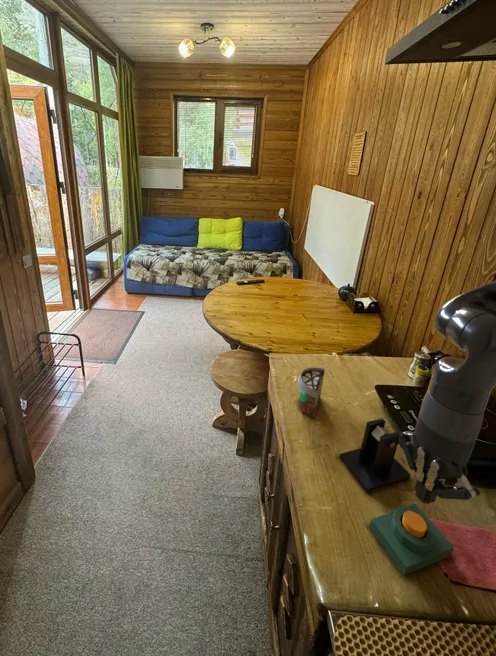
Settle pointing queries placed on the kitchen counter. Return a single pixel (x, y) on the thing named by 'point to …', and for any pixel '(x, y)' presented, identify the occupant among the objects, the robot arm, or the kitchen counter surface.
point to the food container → (310, 389)
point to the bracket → (376, 460)
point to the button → (414, 524)
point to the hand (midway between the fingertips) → (423, 498)
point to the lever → (380, 432)
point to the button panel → (410, 540)
